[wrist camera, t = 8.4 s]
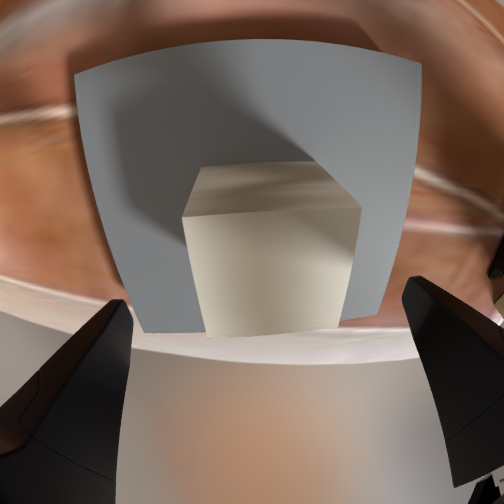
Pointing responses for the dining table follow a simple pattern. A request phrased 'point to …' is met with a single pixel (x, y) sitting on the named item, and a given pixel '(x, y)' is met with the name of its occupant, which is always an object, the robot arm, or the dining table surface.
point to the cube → (270, 247)
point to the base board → (244, 151)
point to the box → (500, 305)
